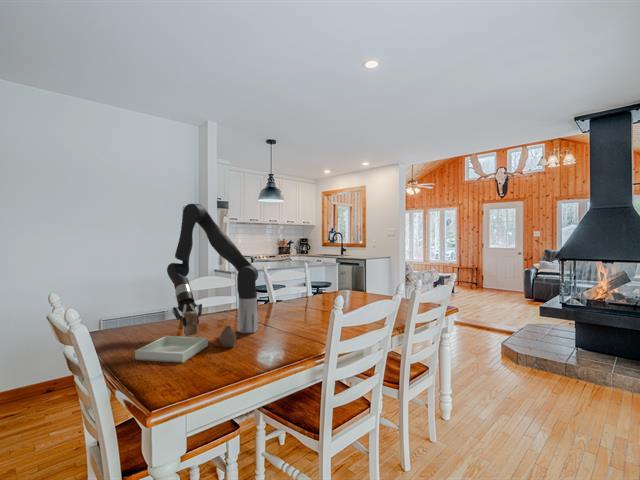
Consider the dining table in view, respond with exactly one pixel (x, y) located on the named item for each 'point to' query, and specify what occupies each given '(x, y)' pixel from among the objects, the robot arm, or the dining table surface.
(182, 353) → the sage tray
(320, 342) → the dining table surface
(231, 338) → the grey rounded egg shape
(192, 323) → the walnut block
